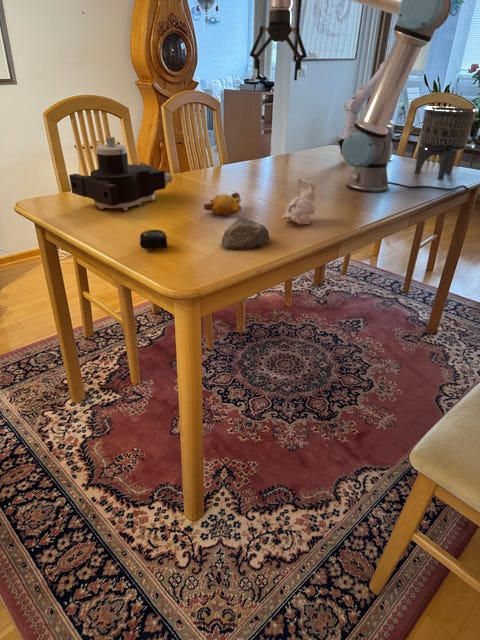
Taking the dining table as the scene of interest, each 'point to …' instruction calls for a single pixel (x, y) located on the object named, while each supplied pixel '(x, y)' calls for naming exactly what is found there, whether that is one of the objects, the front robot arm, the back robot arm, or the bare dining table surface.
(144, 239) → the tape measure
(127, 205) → the mechanical component
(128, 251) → the dining table surface
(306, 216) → the figurine
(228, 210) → the toy
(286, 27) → the front robot arm
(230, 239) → the rock
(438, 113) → the planter
